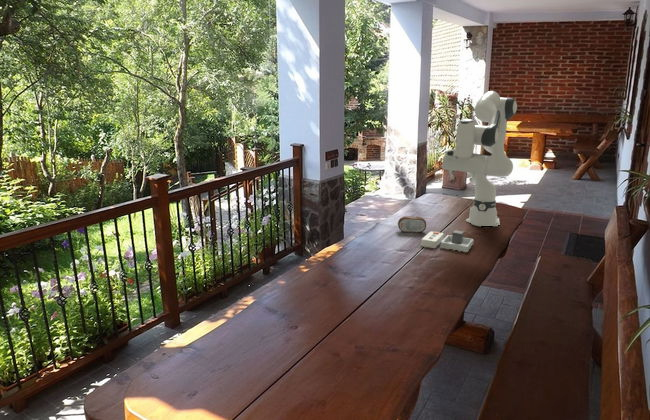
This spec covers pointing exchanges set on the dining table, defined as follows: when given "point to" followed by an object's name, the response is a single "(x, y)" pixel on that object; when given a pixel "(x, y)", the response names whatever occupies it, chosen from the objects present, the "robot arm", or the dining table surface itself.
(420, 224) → the tin
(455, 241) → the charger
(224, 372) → the dining table surface
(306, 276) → the dining table surface
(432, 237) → the power strip
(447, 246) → the tray
